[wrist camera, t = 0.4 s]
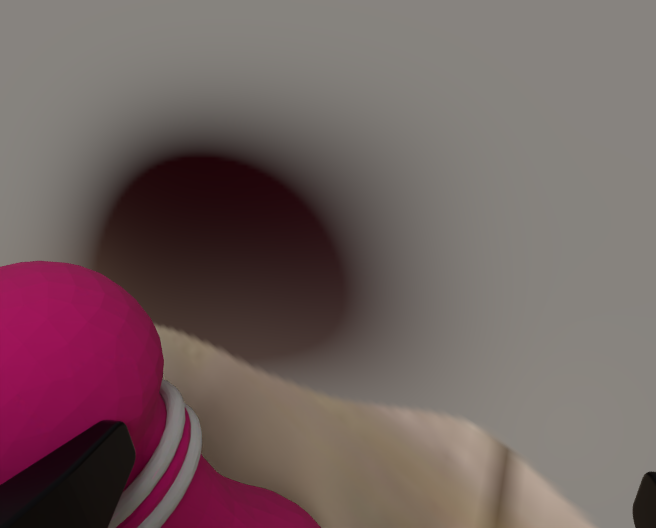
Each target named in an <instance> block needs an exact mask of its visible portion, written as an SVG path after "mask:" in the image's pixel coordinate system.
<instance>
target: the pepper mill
mask: <svg viewBox="0 0 656 528" xmlns="http://www.w3.org/2000/svg"><path fill="white" fill-rule="evenodd" d="M163 366H164V359H163V353H162V348H161V342H160V337H159V335H158V333H157V330H156V328H155V326H154V324H153V322H152V320H151V318H150V317H149V316H148V314H147V313H146V312H145V311H144V309H143V308H142V307H141V306H140V304H139V303H138V302H137V301H136V299H135V298H133V297H132V296H131V295H130V294H129V293H128V292H127V291H125V290H124V289H123V288H122V287H121V286H119V285H118V284H116V283H114V282H113V281H111V280H110V279H108V278H107V277H105V276H104V275H102V274H100V273H98V272H95V271H92V270H90V269H87V268H84V267H81V266H79V265H74V264H69V263H60V262H48V261H47V262H46V261H33V262H20V263H16V264H11V265H7V266H2V267H0V485H1V484H2V483H4V482H6V481H7V480H9V479H10V478H12V477H13V476H15V475H17V474H18V473H20V472H21V471H23V470H24V469H26V468H27V467H29V466H31V465H32V464H34V463H35V462H37V461H38V460H40V459H42V458H43V457H45V456H46V455H48V454H49V453H51V452H53V451H54V450H56V449H57V448H59V447H60V446H62V445H63V444H65V443H67V442H68V441H70V440H71V439H73V438H74V437H76V436H78V435H79V434H81V433H82V432H84V431H85V430H87V429H88V428H90V427H92V426H93V425H95V424H96V423H98V422H100V421H102V420H115V421H122V422H124V423H125V424H126V426H127V428H128V431H129V434H130V436H131V439H132V442H133V445H134V448H135V451H136V458H135V463H134V466H133V468H132V471H131V473H130V476H129V478H128V480H127V483H126V485H125V488H124V490H123V493H122V495H121V497H120V500H119V502H118V505H117V507H116V509H115V512H114V514H113V517H112V519H111V522H110V524H109V526H108V528H321V527H320V526H319V525H318V524H317V523H316V522H315V520H314V519H313V518H312V517H311V516H310V515H309V514H308V513H307V512H306V511H305V510H303V509H302V508H301V507H300V506H299V505H297V504H296V503H294V502H292V501H290V500H288V499H286V498H284V497H283V496H281V495H279V494H277V493H275V492H273V491H270V490H267V489H264V488H260V487H255V486H251V485H246V484H243V483H240V482H237V481H234V480H231V479H229V478H226V477H223V476H222V475H220V474H219V473H217V472H216V471H215V470H214V468H213V467H212V466H211V465H210V464H209V463H208V462H207V461H206V460H205V459H204V457H203V456H202V454H201V448H202V431H201V427H200V423H199V419H198V417H197V415H196V414H195V412H194V411H193V409H192V408H191V407H189V406H188V405H187V404H186V403H184V401H183V398H182V396H181V393H180V392H179V391H178V389H177V388H176V387H175V386H174V385H172V384H171V383H170V382H168V381H166V380H163V379H162V378H163Z"/></svg>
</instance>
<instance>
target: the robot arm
mask: <svg viewBox="0 0 656 528" xmlns="http://www.w3.org/2000/svg"><path fill="white" fill-rule="evenodd" d="M135 458H136V451H135V448H134V445H133V442H132V439H131V436H130V434H129V431H128V428H127V426H126V424H125V423H124V422H122V421H115V420H102V421H100V422H98V423H96V424H95V425H93V426H92V427H90V428H88V429H87V430H85V431H84V432H82V433H81V434H79V435H78V436H76V437H74V438H73V439H71V440H70V441H68V442H67V443H65V444H63V445H62V446H60V447H59V448H57V449H56V450H54V451H53V452H51V453H49V454H48V455H46V456H45V457H43V458H42V459H40V460H38V461H37V462H35V463H34V464H32V465H31V466H29V467H27V468H26V469H24V470H23V471H21V472H20V473H18V474H17V475H15V476H13V477H12V478H10V479H9V480H7V481H6V482H4V483H2V484H1V485H0V528H108V526H109V524H110V522H111V519H112V517H113V514H114V512H115V509H116V507H117V505H118V502H119V500H120V497H121V495H122V493H123V490H124V488H125V485H126V483H127V480H128V478H129V476H130V473H131V471H132V468H133V466H134V463H135ZM633 519H634V524H635V527H636V528H656V472H648V473H646V474H645V475H644V477H643V479H642V481H641V484H640V487H639V490H638V493H637V495H636V498H635V501H634V504H633Z"/></svg>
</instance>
